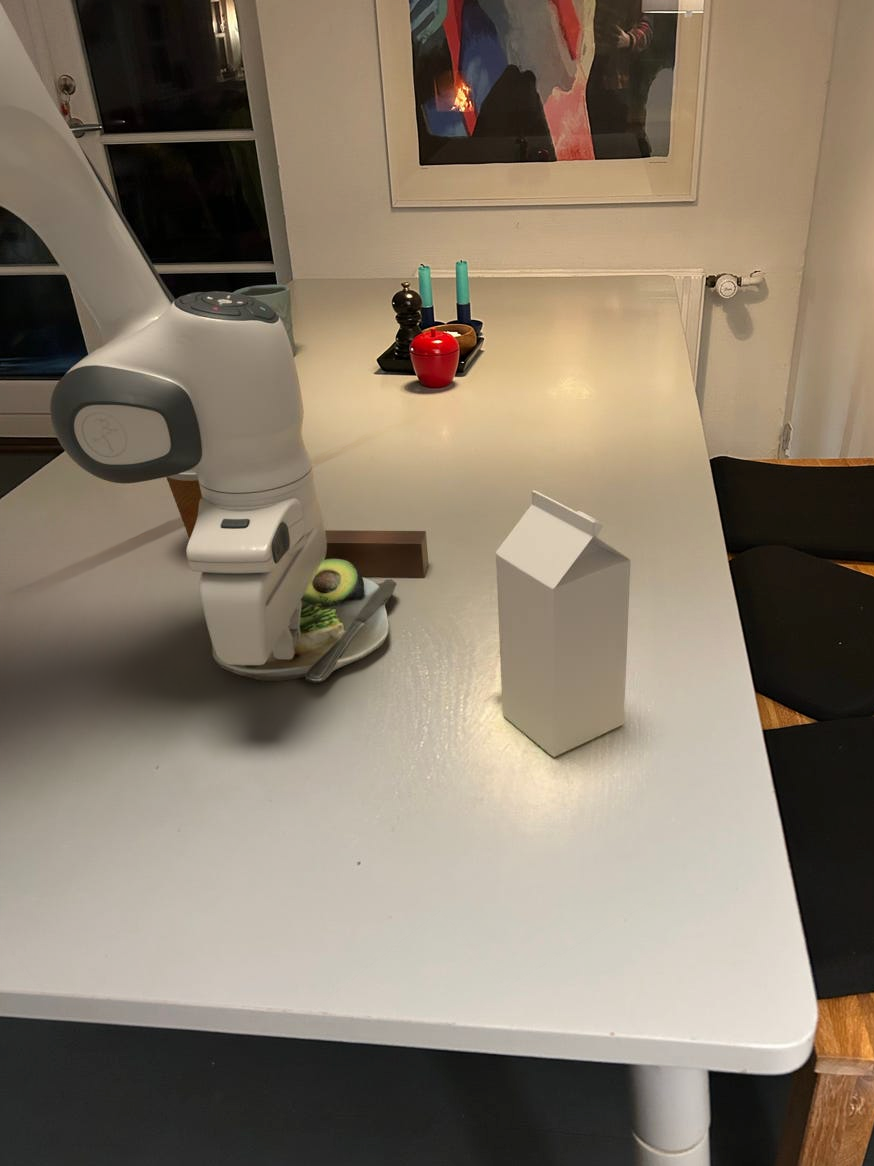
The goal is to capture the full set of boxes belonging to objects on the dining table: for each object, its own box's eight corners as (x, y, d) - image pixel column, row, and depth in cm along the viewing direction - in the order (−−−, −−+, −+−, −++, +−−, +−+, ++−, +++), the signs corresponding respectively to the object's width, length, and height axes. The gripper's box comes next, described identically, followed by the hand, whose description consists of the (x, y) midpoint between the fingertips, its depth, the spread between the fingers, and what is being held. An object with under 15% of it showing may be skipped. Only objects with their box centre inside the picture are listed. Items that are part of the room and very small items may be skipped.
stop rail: (258, 575, 101) (252, 541, 99) (267, 562, 104) (261, 529, 102) (424, 577, 99) (421, 543, 97) (428, 564, 102) (425, 530, 100)
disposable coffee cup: (193, 530, 112) (171, 432, 106) (272, 528, 112) (255, 430, 105) (168, 567, 104) (142, 464, 98) (253, 565, 104) (233, 461, 97)
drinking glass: (262, 367, 171) (251, 298, 165) (234, 357, 178) (222, 291, 171) (309, 355, 177) (300, 287, 171) (280, 346, 183) (270, 281, 177)
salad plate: (412, 686, 82) (407, 641, 80) (203, 711, 80) (191, 666, 78) (395, 582, 99) (391, 542, 96) (221, 602, 97) (213, 561, 94)
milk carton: (554, 759, 73) (552, 536, 63) (501, 715, 78) (492, 502, 68) (624, 726, 76) (633, 508, 66) (569, 686, 81) (570, 478, 71)
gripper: (264, 458, 85) (287, 593, 92) (175, 562, 68) (213, 718, 75) (332, 458, 84) (350, 594, 91) (260, 564, 67) (290, 720, 74)
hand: (288, 651), depth 83 cm, fingers closed
